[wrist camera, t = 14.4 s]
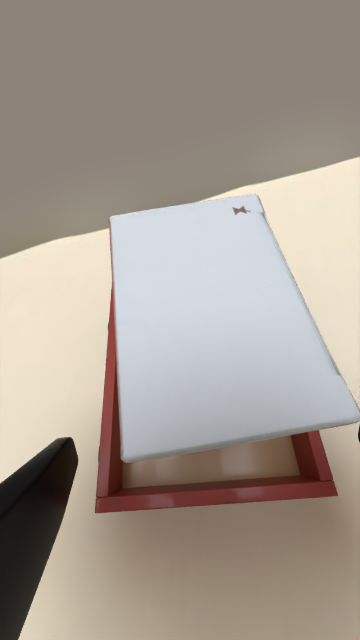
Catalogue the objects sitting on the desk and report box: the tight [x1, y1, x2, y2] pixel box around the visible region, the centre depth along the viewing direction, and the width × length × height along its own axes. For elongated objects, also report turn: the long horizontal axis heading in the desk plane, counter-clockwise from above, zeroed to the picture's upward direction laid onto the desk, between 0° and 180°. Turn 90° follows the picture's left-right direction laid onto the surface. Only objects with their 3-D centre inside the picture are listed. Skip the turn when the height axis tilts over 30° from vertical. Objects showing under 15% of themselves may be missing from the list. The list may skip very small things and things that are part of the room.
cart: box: [95, 288, 338, 513], centre depth 17 cm, size 18×13×4 cm
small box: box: [109, 194, 360, 463], centre depth 12 cm, size 8×6×10 cm
